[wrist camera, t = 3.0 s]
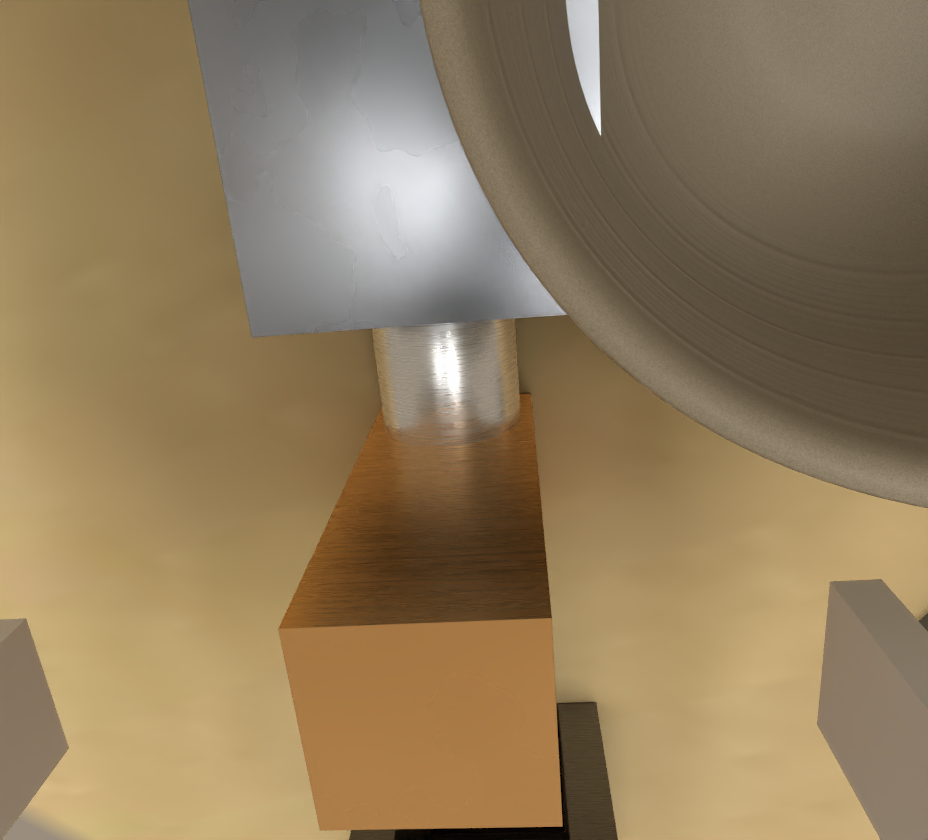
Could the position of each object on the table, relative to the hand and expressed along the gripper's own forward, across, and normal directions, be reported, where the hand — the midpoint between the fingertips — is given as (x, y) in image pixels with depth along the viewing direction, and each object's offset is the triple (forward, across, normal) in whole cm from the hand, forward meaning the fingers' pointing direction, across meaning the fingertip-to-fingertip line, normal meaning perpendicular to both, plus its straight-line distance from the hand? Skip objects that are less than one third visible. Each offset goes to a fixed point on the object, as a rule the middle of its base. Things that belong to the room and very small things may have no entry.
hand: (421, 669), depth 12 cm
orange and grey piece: (+9, 0, +2) cm, 9 cm away
